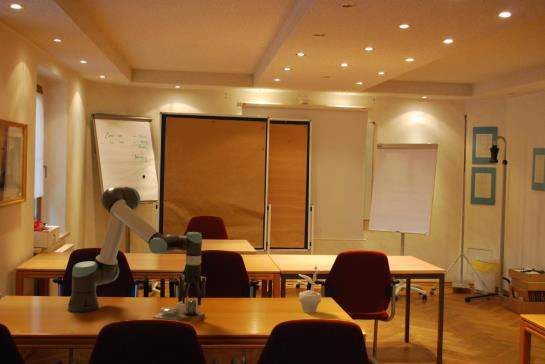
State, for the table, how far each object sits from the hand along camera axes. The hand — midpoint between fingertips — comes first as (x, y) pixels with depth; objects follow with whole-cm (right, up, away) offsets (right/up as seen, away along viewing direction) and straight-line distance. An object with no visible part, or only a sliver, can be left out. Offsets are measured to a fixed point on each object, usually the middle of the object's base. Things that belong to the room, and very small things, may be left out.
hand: (191, 311), depth 273 cm
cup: (-5, -3, +6) cm, 9 cm away
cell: (0, -3, 0) cm, 3 cm away
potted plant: (+59, -6, +22) cm, 63 cm away
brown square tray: (0, -4, 0) cm, 4 cm away
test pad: (-12, -1, +4) cm, 12 cm away
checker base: (-12, -3, +4) cm, 13 cm away
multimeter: (-4, -4, +19) cm, 20 cm away
